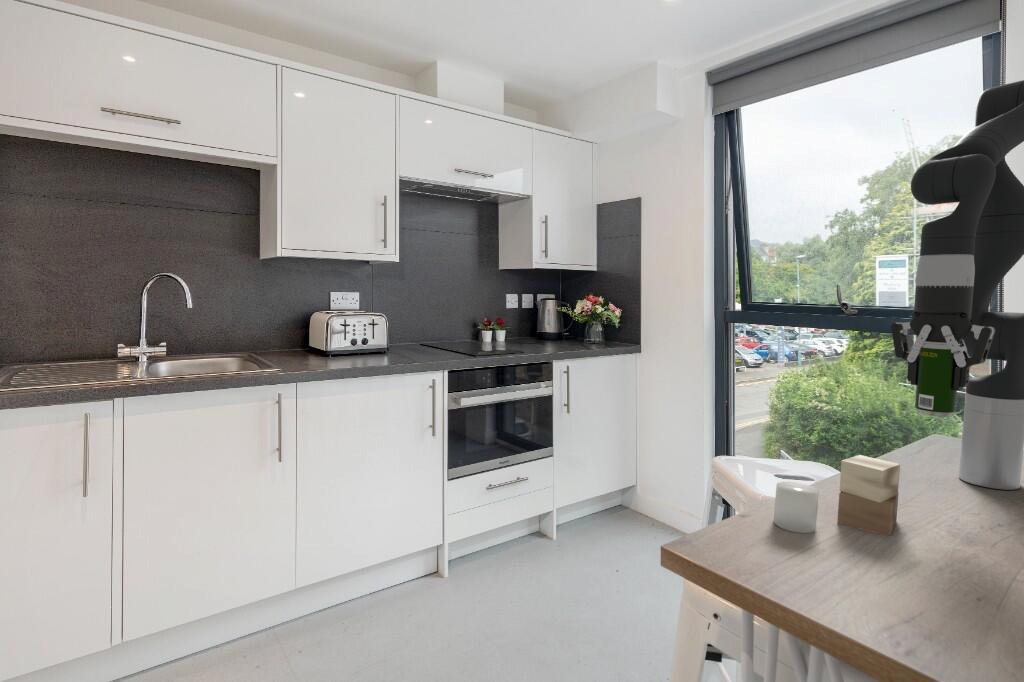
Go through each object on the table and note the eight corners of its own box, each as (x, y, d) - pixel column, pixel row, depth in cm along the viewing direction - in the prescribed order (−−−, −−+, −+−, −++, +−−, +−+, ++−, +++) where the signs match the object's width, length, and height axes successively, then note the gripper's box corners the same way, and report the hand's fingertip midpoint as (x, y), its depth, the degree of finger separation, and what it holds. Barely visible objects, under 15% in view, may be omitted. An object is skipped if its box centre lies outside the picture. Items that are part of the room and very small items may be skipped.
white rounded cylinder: (783, 514, 94) (786, 479, 94) (822, 526, 90) (825, 489, 89) (766, 523, 90) (769, 486, 90) (806, 536, 86) (809, 498, 85)
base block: (846, 511, 97) (848, 482, 96) (896, 522, 92) (898, 492, 91) (837, 523, 91) (839, 493, 91) (889, 536, 87) (891, 504, 86)
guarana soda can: (946, 418, 91) (952, 343, 90) (908, 412, 95) (913, 340, 94) (960, 414, 94) (966, 342, 93) (922, 408, 98) (927, 339, 97)
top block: (857, 484, 95) (859, 454, 95) (897, 495, 90) (900, 464, 90) (839, 490, 92) (841, 460, 92) (880, 502, 87) (882, 470, 87)
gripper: (1008, 284, 89) (998, 391, 91) (903, 284, 101) (896, 379, 102) (992, 283, 85) (983, 396, 86) (884, 283, 96) (878, 383, 98)
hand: (936, 386), depth 94 cm, fingers closed on guarana soda can, 5 cm apart
